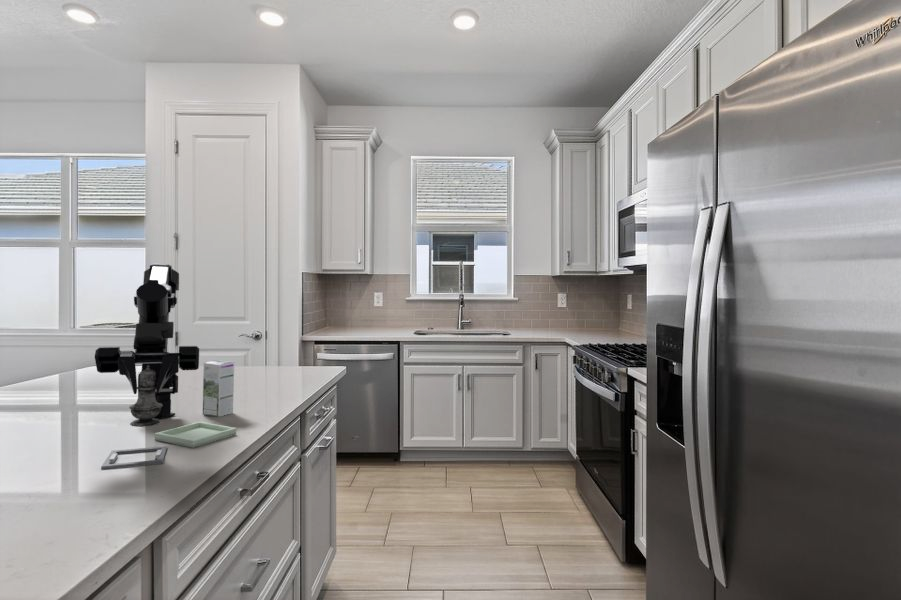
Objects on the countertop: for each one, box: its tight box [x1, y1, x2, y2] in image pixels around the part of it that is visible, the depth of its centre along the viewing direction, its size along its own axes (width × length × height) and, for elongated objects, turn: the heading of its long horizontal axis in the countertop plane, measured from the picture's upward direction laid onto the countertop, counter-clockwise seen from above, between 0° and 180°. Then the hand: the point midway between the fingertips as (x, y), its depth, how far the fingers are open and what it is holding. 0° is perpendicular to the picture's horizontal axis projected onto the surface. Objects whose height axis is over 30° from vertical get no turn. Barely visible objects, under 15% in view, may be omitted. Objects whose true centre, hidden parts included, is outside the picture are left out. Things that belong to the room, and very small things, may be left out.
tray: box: [154, 421, 237, 448], centre depth 116 cm, size 12×12×2 cm
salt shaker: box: [129, 365, 163, 428], centre depth 102 cm, size 6×6×12 cm
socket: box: [100, 445, 168, 470], centre depth 101 cm, size 10×10×1 cm
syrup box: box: [202, 360, 235, 418], centre depth 138 cm, size 6×6×14 cm
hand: (146, 392), depth 101 cm, fingers closed on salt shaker, 4 cm apart
